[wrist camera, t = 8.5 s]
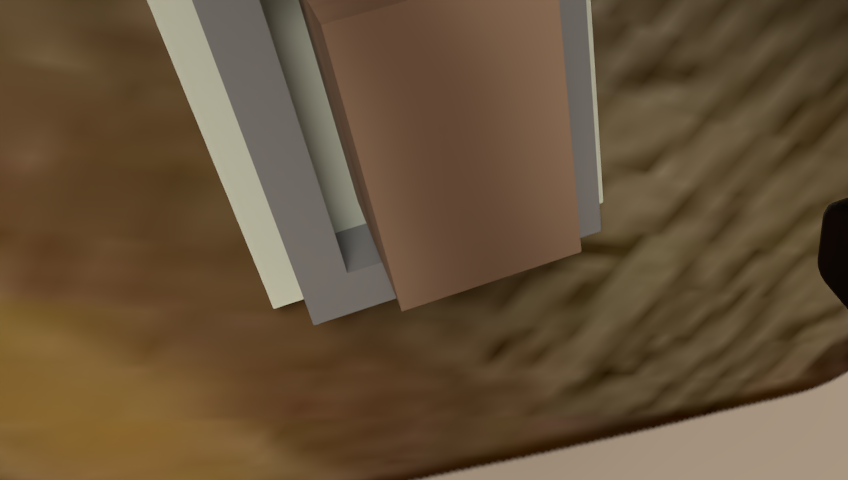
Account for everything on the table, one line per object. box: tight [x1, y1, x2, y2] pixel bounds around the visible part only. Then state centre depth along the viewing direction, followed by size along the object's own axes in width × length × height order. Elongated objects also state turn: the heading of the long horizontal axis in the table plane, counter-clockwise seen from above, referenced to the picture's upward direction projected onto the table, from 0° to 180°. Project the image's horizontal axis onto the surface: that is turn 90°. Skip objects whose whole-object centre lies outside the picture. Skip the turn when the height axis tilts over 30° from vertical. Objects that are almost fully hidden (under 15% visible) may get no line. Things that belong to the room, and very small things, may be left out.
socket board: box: [147, 0, 603, 325], centre depth 16 cm, size 10×11×2 cm
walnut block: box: [299, 0, 581, 311], centre depth 15 cm, size 4×6×5 cm, turn 11°
